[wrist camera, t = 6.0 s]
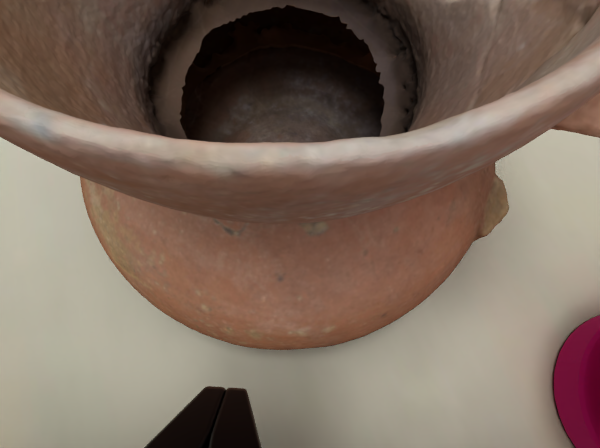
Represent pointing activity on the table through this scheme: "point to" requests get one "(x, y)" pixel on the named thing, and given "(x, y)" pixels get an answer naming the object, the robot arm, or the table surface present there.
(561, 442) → the table surface
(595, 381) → the pepper mill
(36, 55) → the ceramic jug
